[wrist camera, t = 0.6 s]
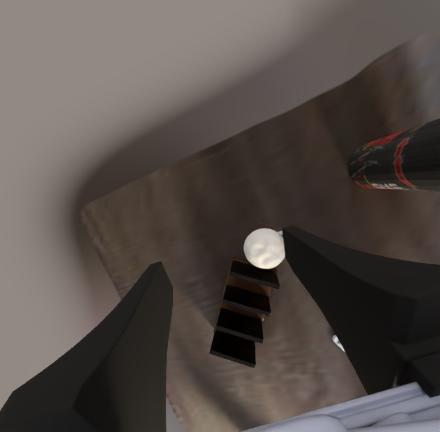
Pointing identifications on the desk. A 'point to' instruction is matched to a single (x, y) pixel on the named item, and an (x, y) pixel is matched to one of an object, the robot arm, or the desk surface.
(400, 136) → the deodorant
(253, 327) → the letter rack
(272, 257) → the milkshake
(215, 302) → the desk surface
